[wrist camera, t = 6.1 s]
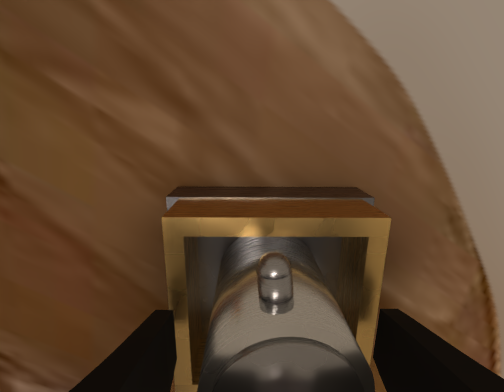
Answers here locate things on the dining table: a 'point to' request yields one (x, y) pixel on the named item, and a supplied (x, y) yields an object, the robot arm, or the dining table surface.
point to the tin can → (278, 325)
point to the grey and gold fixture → (270, 225)
